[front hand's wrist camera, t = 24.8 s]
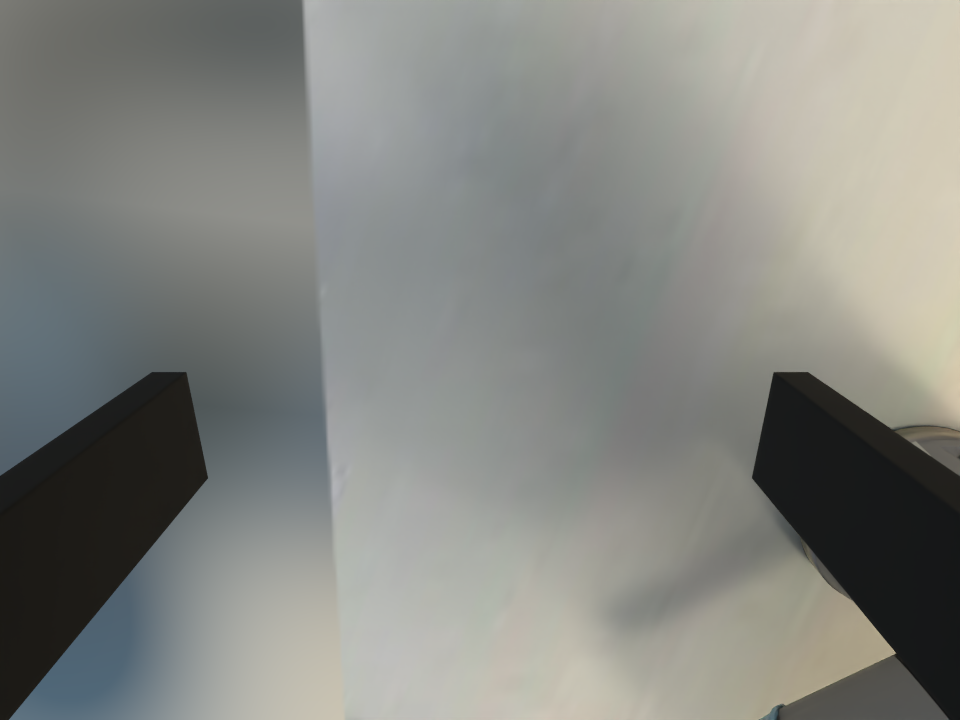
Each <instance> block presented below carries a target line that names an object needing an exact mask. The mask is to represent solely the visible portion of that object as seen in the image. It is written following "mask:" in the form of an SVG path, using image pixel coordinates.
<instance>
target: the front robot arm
mask: <svg viewBox="0 0 960 720" xmlns="http://www.w3.org/2000/svg"><path fill="white" fill-rule="evenodd" d="M207 479H208V476H207V471H206V466H205V461H204V456H203V451H202V446H201V442H200V437H199V432H198V427H197V422H196V417H195V413H194V407H193V403H192V398H191V393H190V388H189V383H188V378H187V373H186V372H152V373H150V374H149V375H147V376H146V377H144V378H143V379H141V380H140V381H138V382H137V383H136V384H134V385H133V386H131V387H130V388H128V389H127V390H125V391H124V392H122V393H121V394H119V395H118V396H117V397H115V398H114V399H112V400H111V401H109V402H108V403H106V404H105V405H103V406H102V407H100V408H99V409H98V410H96V411H95V412H93V413H92V414H90V415H89V416H87V417H86V418H84V419H83V420H81V421H80V422H78V423H77V424H76V425H74V426H73V427H71V428H70V429H68V430H67V431H65V432H64V433H62V434H61V435H59V436H58V437H57V438H55V439H54V440H52V441H51V442H49V443H48V444H46V445H45V446H43V447H42V448H40V449H39V450H38V451H36V452H35V453H33V454H32V455H30V456H29V457H27V458H26V459H24V460H23V461H21V462H20V463H18V464H17V465H16V466H14V467H13V468H11V469H10V470H8V471H7V472H5V473H4V474H2V475H1V476H0V720H9V719H10V718H11V716H12V715H13V714H14V713H15V712H16V710H17V709H18V708H19V707H20V705H21V704H22V703H23V702H24V701H25V699H26V698H27V697H28V696H29V695H30V693H31V692H32V691H33V690H34V689H35V687H36V686H37V685H38V684H39V682H40V681H41V680H42V679H43V678H44V676H45V675H46V674H47V673H48V672H49V670H50V669H51V668H52V667H53V665H54V664H55V663H56V662H57V661H58V659H59V658H60V657H61V656H62V655H63V653H64V652H65V651H66V650H67V648H68V647H69V646H70V645H71V644H72V642H73V641H74V640H75V639H76V637H77V636H78V635H79V634H80V633H81V631H82V630H83V629H84V628H85V627H86V625H87V624H88V623H89V622H90V621H91V619H92V618H93V617H94V616H95V615H96V613H97V612H98V611H99V610H100V608H101V607H102V606H103V605H104V604H105V602H106V601H107V600H108V599H109V598H110V596H111V595H112V594H113V593H114V591H115V590H116V589H117V588H118V587H119V585H120V584H121V583H122V582H123V581H124V579H125V578H126V577H127V576H128V574H129V573H130V572H131V571H132V570H133V568H134V567H135V566H136V565H137V563H138V562H139V561H140V560H141V559H142V558H143V556H144V555H145V554H146V553H147V551H148V550H149V549H150V548H151V547H152V545H153V544H154V543H155V542H156V541H157V539H158V538H159V537H160V536H161V534H162V533H163V532H164V531H165V530H166V528H167V527H168V526H169V525H170V523H171V522H172V521H173V520H174V519H175V517H176V516H177V515H178V514H179V513H180V511H181V510H182V509H183V508H184V507H185V505H186V504H187V503H188V502H189V500H190V499H191V498H192V497H193V496H194V494H195V493H196V492H197V491H198V489H199V488H200V487H201V486H202V485H203V484H204V482H205V481H206V480H207ZM752 479H753V480H754V481H755V482H756V484H757V485H758V486H759V487H760V488H761V490H762V491H763V492H764V493H765V494H766V496H767V497H768V498H769V499H770V500H771V502H772V503H773V504H774V505H775V507H776V508H777V509H778V510H779V511H780V513H781V514H782V515H783V516H784V517H785V519H786V520H787V521H788V522H789V524H790V525H791V526H792V527H793V528H794V530H795V531H796V532H797V533H798V534H799V536H800V537H801V542H802V545H803V548H804V551H805V553H806V555H807V557H808V559H809V560H810V562H811V563H812V564H813V565H814V567H815V568H816V569H817V570H818V572H819V573H820V574H821V575H822V577H823V578H824V579H825V580H826V581H827V583H828V584H829V585H831V586H832V587H833V588H834V589H835V590H837V591H838V592H840V593H841V594H843V595H844V596H846V597H848V598H849V599H851V600H852V601H854V602H855V604H856V605H857V606H858V607H859V608H860V610H861V611H862V612H863V613H864V615H865V616H866V617H867V618H868V619H869V621H870V622H871V623H872V624H873V625H874V627H875V628H876V629H877V630H878V631H879V633H880V634H881V635H882V636H883V638H884V639H885V640H886V641H887V642H888V644H889V645H890V646H891V647H892V648H893V650H894V651H895V652H896V653H897V654H895V655H892V656H890V657H888V658H886V659H884V660H882V661H879V662H877V663H875V664H873V665H871V666H869V667H867V668H865V669H863V670H860V671H858V672H856V673H854V674H852V675H850V676H848V677H846V678H844V679H841V680H839V681H837V682H835V683H833V684H831V685H829V686H827V687H825V688H822V689H820V690H818V691H816V692H814V693H812V694H810V695H808V696H806V697H803V698H801V699H799V700H797V701H795V702H793V703H791V704H789V705H786V706H785V705H784V704H780V705H777V706H775V707H774V708H773V709H772V710H771V713H770V714H768V715H766V716H765V717H763V718H761V719H759V720H960V432H959V431H956V430H952V429H948V428H941V427H913V428H905V429H901V430H896V431H893V430H892V429H890V428H889V427H887V426H886V425H884V424H883V423H882V422H880V421H879V420H877V419H876V418H874V417H873V416H871V415H870V414H868V413H867V412H865V411H864V410H862V409H861V408H860V407H858V406H857V405H855V404H854V403H852V402H851V401H849V400H848V399H846V398H845V397H843V396H842V395H841V394H839V393H838V392H836V391H835V390H833V389H832V388H830V387H829V386H827V385H826V384H824V383H823V382H822V381H820V380H819V379H817V378H816V377H814V376H813V375H811V374H810V373H808V372H774V373H773V378H772V383H771V388H770V393H769V398H768V403H767V407H766V412H765V417H764V422H763V427H762V432H761V437H760V442H759V446H758V451H757V456H756V461H755V466H754V471H753V476H752Z"/></svg>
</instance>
